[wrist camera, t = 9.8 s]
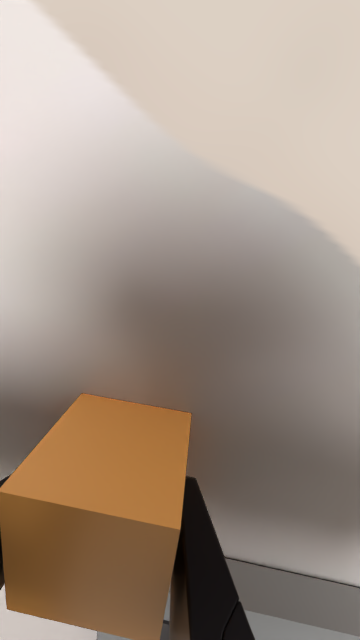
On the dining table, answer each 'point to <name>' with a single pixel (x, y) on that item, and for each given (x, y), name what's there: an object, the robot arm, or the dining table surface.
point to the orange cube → (97, 518)
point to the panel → (287, 606)
